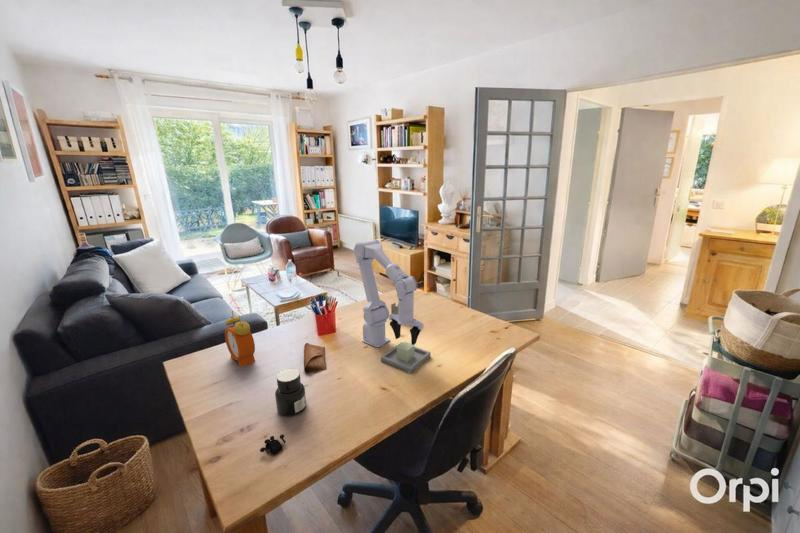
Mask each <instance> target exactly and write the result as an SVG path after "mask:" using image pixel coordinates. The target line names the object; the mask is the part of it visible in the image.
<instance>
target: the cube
mask: <svg viewBox="0 0 800 533" xmlns="http://www.w3.org/2000/svg"><path fill="white" fill-rule="evenodd" d="M400 343H401V342H400ZM400 343H399V344H400ZM396 346H397V345H396ZM415 347H416V346H415V344H414V345H412V343H411V342H410V343H409V342H407V341H403V343H401V344H400V345H399V346H397V358H398V359H400V360H403V361H405V362H408V361H410V360H411V359H412V358H413V357H415Z"/></svg>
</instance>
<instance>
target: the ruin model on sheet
mask: <svg viewBox="0 0 800 533" xmlns="http://www.w3.org/2000/svg"><path fill="white" fill-rule="evenodd" d="M390 306H391V307H390V309H391V311H390V315H391V314H397V315H398V305H396V302H394V303H391V304H390Z"/></svg>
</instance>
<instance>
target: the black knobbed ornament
mask: <svg viewBox="0 0 800 533" xmlns="http://www.w3.org/2000/svg"><path fill="white" fill-rule="evenodd" d="M279 438H280V439H281V440H282V442H283V443H284V444H286V443H287V442H286V440H285V439H284V438H285V435H284V433H283V434H280V436H279ZM264 443H265V445H264V446H265V447H264V446H263V447H261V448H260V449H259V451H260V452H261V453H264V452H265V453H266V454H267V455H268V456H269V455H270V454H271V455H277V454H278V453H279V452H281V451H282V450H283V448H284V445H283V444H282V443H281V442H280V440H279V439H275V436H274V435H271V436H270V437H269V439H268V438H267V439H265V440H264Z"/></svg>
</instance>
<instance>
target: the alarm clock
mask: <svg viewBox="0 0 800 533" xmlns="http://www.w3.org/2000/svg"><path fill="white" fill-rule="evenodd" d="M231 314H232V316H230V318H229V319H227V320H226V321H225V324H224V325H225V326H229V325H231V326H229V327H226V328H225V331H224V340H225V344H226V346H227V349H228V352H229V354H230V358H231V359H232V360H235V361H237V363H238V365H239V366H240V367H241V368H243V367H245V366H248V365H250V364H252V363H255V362H256V359H255V356H254V354H255V351H256V343H255V340H254V337H253V334H252V331H251V326H250V324H249V323H248V322H246V321H242V319H241V316H240V314H239V313H237V312H236V311H234V310H232V311H231ZM234 314H236V315H237V316H234Z"/></svg>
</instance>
